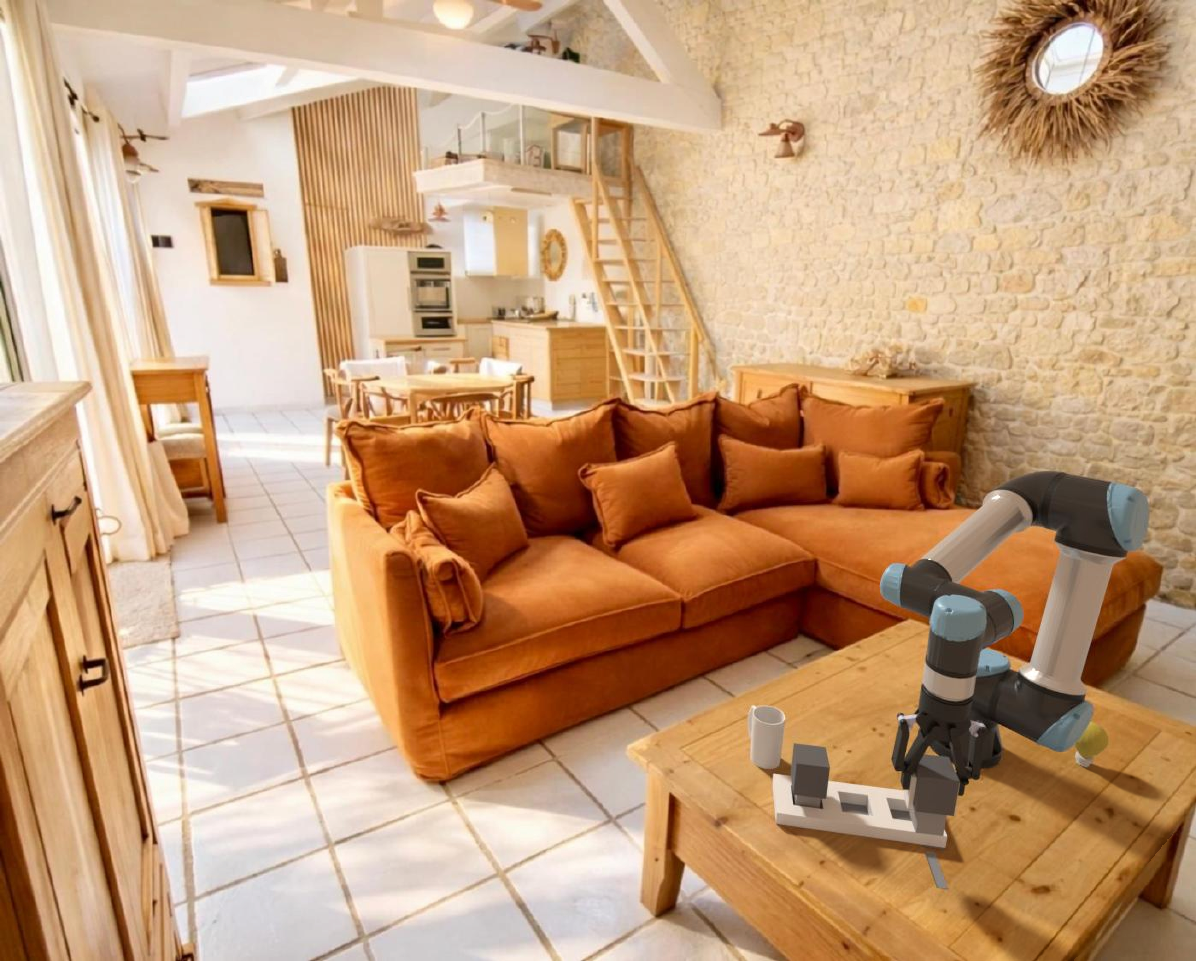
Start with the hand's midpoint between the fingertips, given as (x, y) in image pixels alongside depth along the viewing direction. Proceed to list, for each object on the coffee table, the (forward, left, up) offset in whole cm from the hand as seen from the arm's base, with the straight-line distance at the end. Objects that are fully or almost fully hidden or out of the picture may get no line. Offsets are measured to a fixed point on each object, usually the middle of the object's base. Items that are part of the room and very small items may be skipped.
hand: (928, 805), depth 117 cm
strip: (+9, -10, -13) cm, 19 cm away
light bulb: (-43, -37, -13) cm, 58 cm away
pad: (0, 0, -13) cm, 13 cm away
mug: (+26, -25, -13) cm, 38 cm away
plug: (0, 0, -4) cm, 4 cm away
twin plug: (+18, -10, -12) cm, 24 cm away
